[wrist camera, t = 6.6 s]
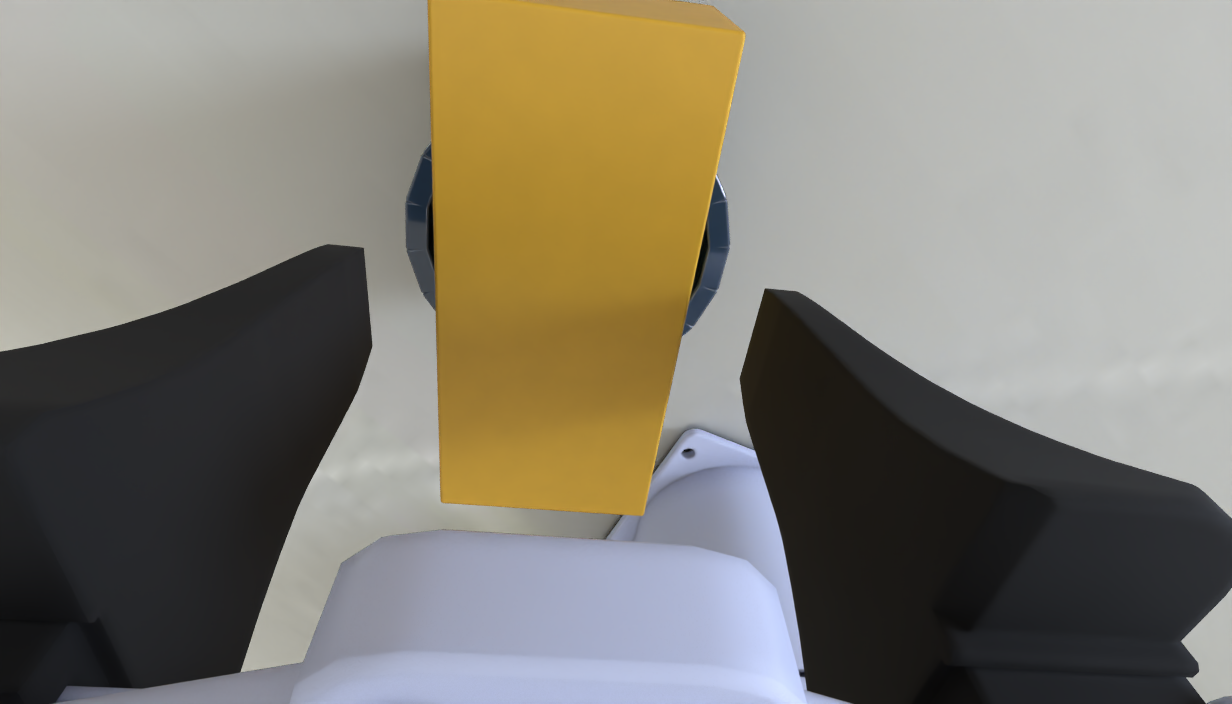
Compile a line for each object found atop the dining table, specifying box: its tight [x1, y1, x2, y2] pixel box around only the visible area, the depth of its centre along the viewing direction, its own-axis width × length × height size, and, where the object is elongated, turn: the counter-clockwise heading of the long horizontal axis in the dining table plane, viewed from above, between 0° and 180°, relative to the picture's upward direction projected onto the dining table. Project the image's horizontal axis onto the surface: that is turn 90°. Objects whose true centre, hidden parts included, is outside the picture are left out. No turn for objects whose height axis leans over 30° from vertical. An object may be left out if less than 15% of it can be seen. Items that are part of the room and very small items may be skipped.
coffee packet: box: [428, 0, 746, 516], centre depth 13 cm, size 10×4×3 cm, turn 173°
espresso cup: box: [405, 141, 730, 336], centre depth 17 cm, size 7×7×6 cm
